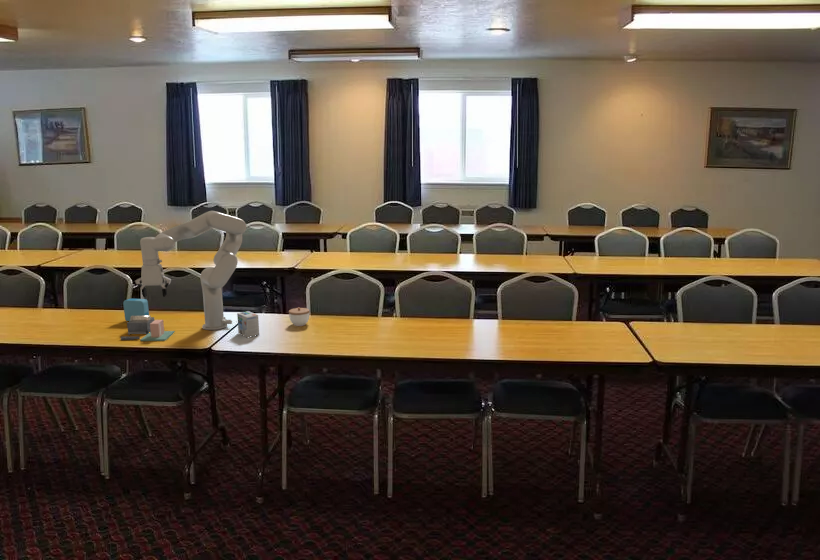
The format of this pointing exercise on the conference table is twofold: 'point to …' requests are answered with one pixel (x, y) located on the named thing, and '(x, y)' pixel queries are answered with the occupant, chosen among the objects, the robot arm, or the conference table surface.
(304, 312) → the lidded jar
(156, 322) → the pink rectangular prism
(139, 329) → the dispenser
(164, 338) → the pad
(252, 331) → the light bulb box
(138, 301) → the data package
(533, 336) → the conference table surface
